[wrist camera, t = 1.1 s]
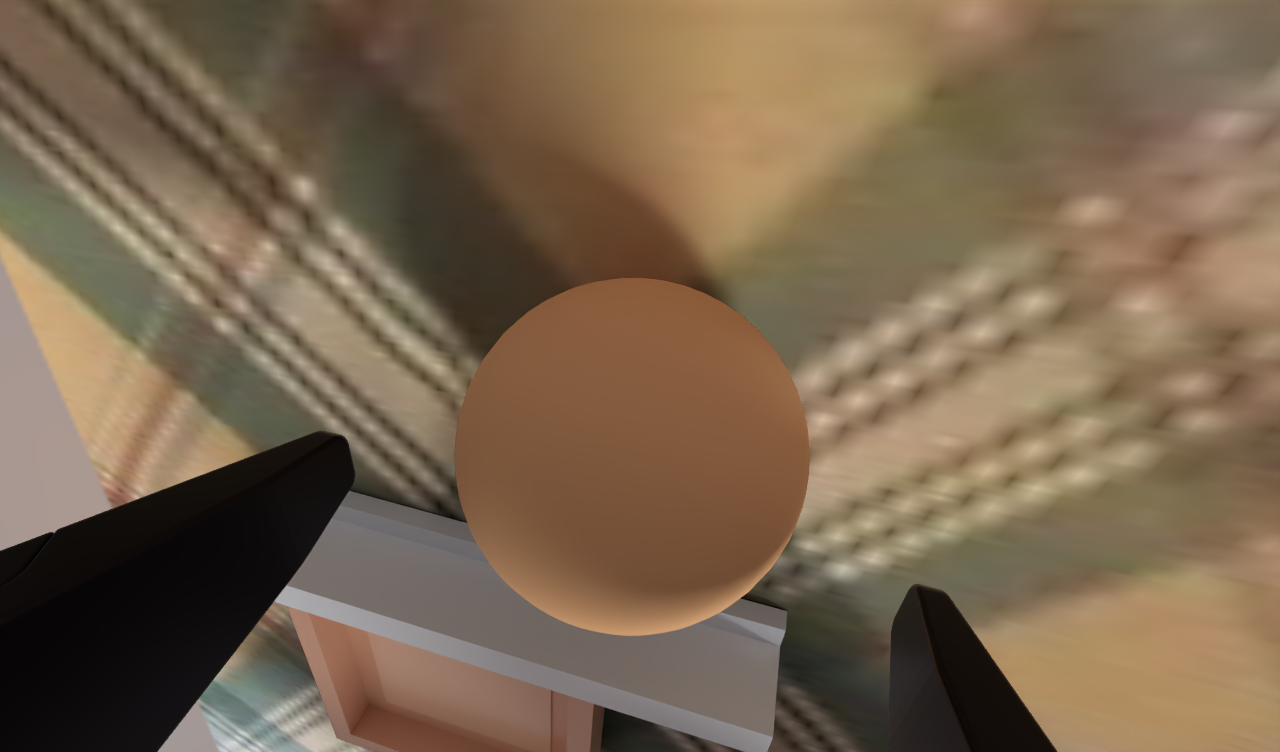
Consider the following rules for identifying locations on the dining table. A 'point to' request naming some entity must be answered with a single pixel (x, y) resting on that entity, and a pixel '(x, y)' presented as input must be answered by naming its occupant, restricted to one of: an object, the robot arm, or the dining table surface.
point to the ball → (632, 456)
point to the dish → (435, 698)
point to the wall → (537, 627)
